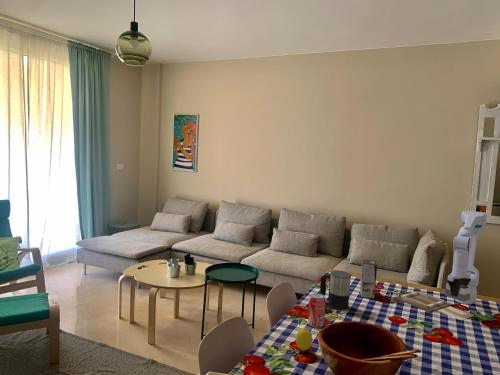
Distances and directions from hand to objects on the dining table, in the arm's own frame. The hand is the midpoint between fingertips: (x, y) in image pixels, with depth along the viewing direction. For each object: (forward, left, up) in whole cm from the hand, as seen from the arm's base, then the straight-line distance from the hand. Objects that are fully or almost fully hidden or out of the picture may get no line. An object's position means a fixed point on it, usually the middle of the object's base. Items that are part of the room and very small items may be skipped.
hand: (457, 294), depth 171 cm
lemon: (+79, -9, -10) cm, 80 cm away
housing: (0, 0, -1) cm, 1 cm away
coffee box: (+14, -36, -10) cm, 40 cm away
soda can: (+61, -22, -10) cm, 66 cm away
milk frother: (+42, -32, -10) cm, 54 cm away
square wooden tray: (+1, -15, -10) cm, 18 cm away
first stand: (0, 0, -10) cm, 10 cm away
